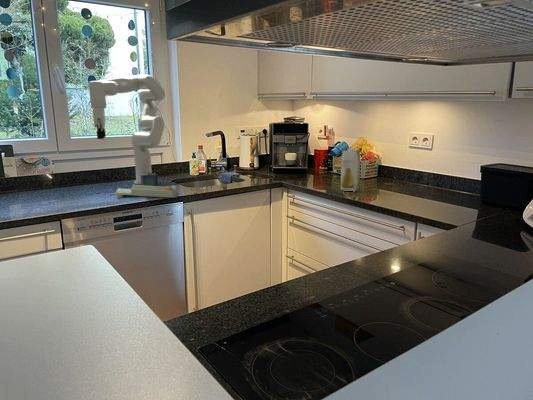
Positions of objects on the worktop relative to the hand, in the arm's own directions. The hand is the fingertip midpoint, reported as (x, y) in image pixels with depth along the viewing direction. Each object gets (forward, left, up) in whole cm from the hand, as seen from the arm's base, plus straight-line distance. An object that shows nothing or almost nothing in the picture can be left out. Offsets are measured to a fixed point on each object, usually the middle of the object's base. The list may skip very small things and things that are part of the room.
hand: (101, 138), depth 218 cm
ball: (+16, +34, -29) cm, 47 cm away
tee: (+16, +1, -30) cm, 34 cm away
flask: (-3, +23, -31) cm, 38 cm away
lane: (+16, +20, -30) cm, 40 cm away
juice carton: (+34, +131, -31) cm, 139 cm away
